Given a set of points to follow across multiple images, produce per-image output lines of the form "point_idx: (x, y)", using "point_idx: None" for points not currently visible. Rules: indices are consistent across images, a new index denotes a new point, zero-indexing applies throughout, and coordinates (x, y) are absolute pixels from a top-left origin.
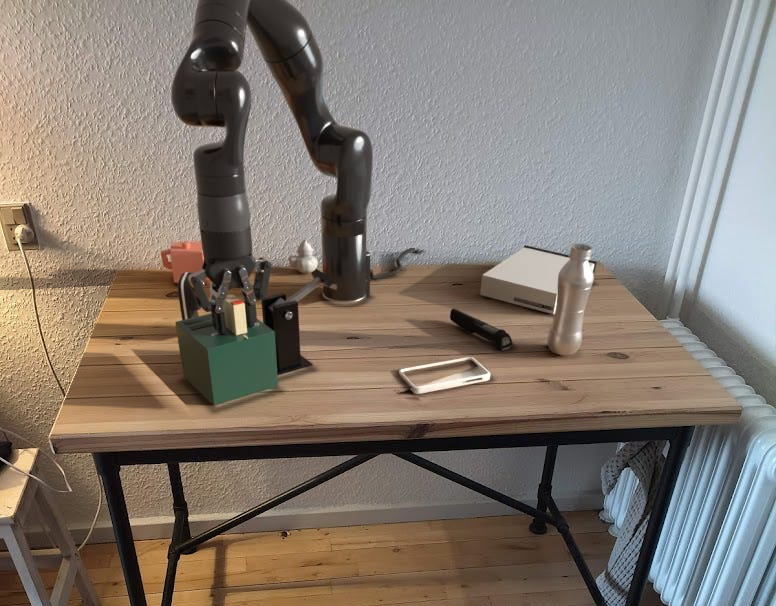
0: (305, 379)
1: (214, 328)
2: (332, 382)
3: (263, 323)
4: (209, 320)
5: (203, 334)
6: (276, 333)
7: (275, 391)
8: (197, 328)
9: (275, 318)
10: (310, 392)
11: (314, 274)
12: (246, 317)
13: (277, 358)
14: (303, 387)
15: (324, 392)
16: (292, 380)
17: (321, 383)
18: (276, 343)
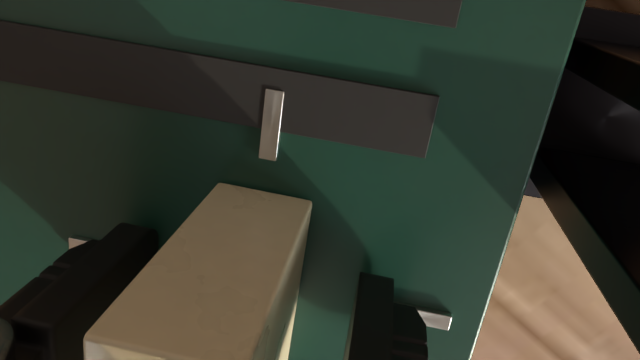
0: (572, 248)
1: (89, 244)
2: (625, 332)
3: (476, 338)
4: (176, 8)
5: (33, 189)
6: (584, 256)
7: None
8: (27, 84)
9: (625, 321)
10: (503, 325)
11: None
12: (349, 336)
13: (540, 180)
14: (514, 285)
15: (539, 357)
16: (528, 218)
17: (589, 309)
18: (565, 214)
